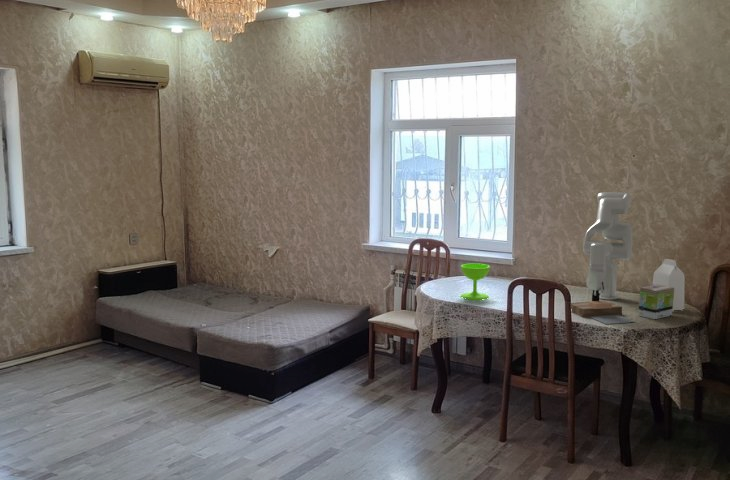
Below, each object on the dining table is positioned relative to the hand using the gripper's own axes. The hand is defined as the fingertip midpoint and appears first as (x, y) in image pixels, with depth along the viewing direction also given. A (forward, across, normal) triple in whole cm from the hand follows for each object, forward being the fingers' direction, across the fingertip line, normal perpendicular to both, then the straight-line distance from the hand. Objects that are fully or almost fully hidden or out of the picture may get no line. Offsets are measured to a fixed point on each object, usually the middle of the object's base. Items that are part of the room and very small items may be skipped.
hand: (595, 302), depth 341 cm
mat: (+5, +15, 0) cm, 16 cm away
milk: (+5, 0, +42) cm, 42 cm away
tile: (0, +5, 0) cm, 5 cm away
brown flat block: (+5, 0, 0) cm, 5 cm away
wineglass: (+6, -47, -46) cm, 66 cm away
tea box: (+6, +12, +26) cm, 30 cm away
